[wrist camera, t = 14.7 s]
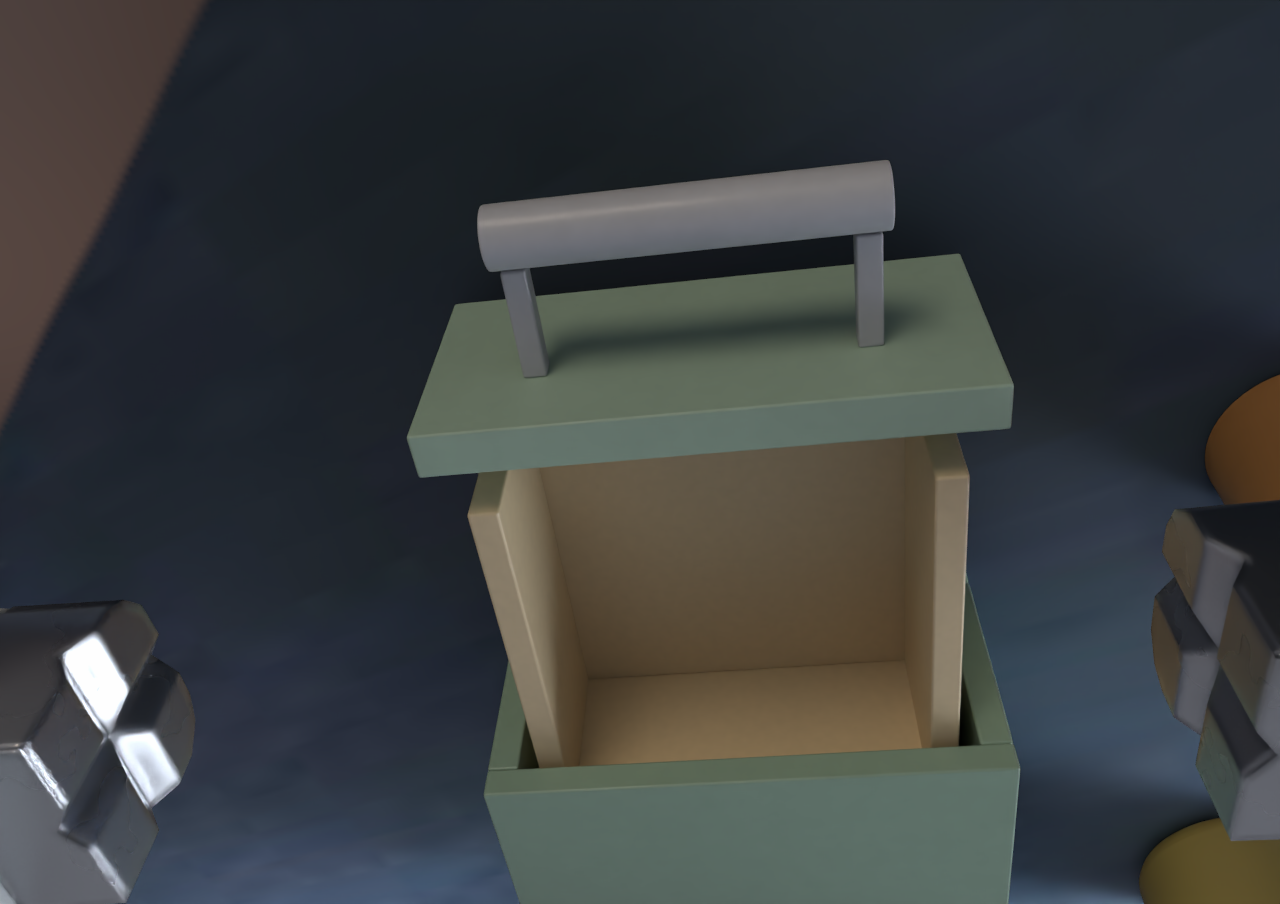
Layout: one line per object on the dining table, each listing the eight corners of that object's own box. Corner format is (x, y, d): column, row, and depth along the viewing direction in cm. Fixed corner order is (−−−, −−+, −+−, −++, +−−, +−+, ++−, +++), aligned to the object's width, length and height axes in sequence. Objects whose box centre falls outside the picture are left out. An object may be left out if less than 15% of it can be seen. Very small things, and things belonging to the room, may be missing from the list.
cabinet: (520, 593, 39) (482, 795, 32) (963, 562, 37) (1021, 768, 30) (593, 869, 48) (575, 1071, 41) (952, 854, 46) (994, 1062, 40)
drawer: (415, 151, 29) (351, 266, 24) (965, 87, 27) (1027, 195, 22) (549, 672, 40) (527, 828, 35) (948, 647, 38) (986, 808, 33)
